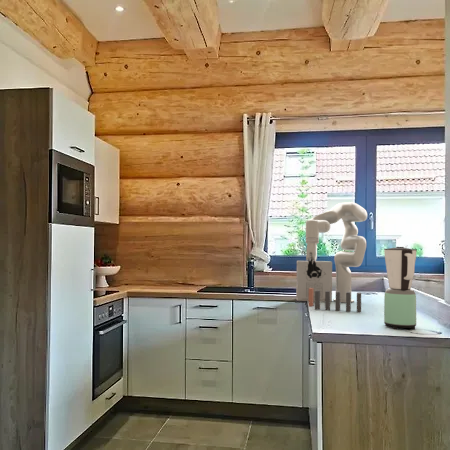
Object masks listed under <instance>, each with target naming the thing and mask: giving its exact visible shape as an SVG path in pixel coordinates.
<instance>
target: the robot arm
mask: <svg viewBox="0 0 450 450" xmlns="http://www.w3.org/2000/svg"><path fill="white" fill-rule="evenodd" d="M367 219H368V212H367V210H366V209H365V208H364V207H363V206H361V205H359V204H358V203H356V202H353V201H347V202H339V203H337V204H335V205H334V206H333V207H332V208H330V209H329V210H327V211H324V212H323V213H319V214H317V215H314V216H313V217H311V218H310V219H307V220H306V221H305V244H306V255H305V256H306V257H305V258H306V259H305V261H308V271H314V270H316V261H317V259H318V244H320V241H319V240H320V233H321V234H322V233H323V234H324V233H328V232H329V231H330V229H331V225H332V224H336V223H337V222H339V221H340V220H341V221H342V224H343V226H344V231H343V234H342V238H341V241H340V248H341V250H342V251H341V250H340V251H337V252H336V253H335V254H334V256H333V257H334V258H333V259H334V264H335V293H336V292H337V291H339V292H340V303H346V292H351V293H352V278H353V277H352V271H351V269H350V268H352V267H353V268H358V267H360V266H361V265H362V264H363V261H364V257H365V253H366V250H367V240H366V238H365V237H364V236H361V235H358V233H359V229H358V227H357V225H356V224H355V223H357V222H358V223H361V222H366V220H367ZM332 301H333V302H335V303H336V298H332ZM354 301H355V300H354V299H352V298H351V303H354Z"/></svg>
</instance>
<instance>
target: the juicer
mask: <svg viewBox="0 0 450 450" xmlns="http://www.w3.org/2000/svg"><path fill="white" fill-rule="evenodd" d="M417 250H418V249H416V248H415V249H413V248H407V247H404V246H396V247H389V248H383V251H384V260H385V268H386V275H387V281H388V286H389V287H388V288H386V289H385V292H384V299H383V300H384V301H383V303H384V304H383V305H384V306H383V307H384V308H383V310H384V311H383V312H384V313H383V317H384V318H383V323H384V325H385V327H391V328H392V329H393V330H399V329H410V330H415V331H416V326H417V294H416V292H415V290H414V289H413V288H412V285H413V278H414V277H415V265H416V259H417Z"/></svg>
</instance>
